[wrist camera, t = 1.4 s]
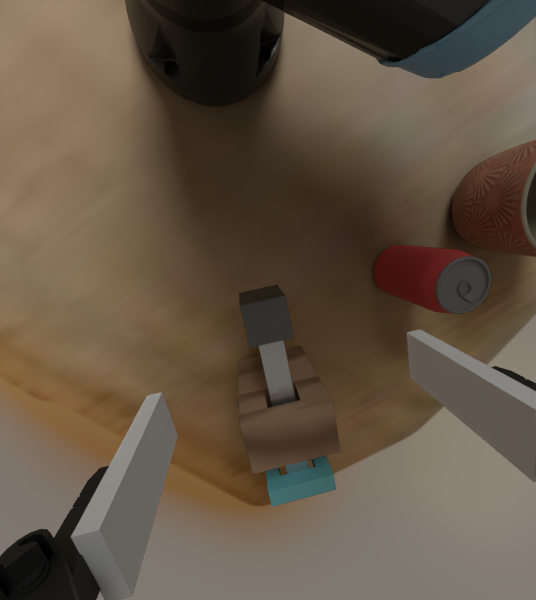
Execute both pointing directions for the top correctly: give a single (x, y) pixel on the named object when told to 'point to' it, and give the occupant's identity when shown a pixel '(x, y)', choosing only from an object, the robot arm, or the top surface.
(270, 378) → the shaft
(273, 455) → the bearing block
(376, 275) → the beer can
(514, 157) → the planter
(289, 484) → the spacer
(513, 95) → the top surface
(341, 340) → the top surface
